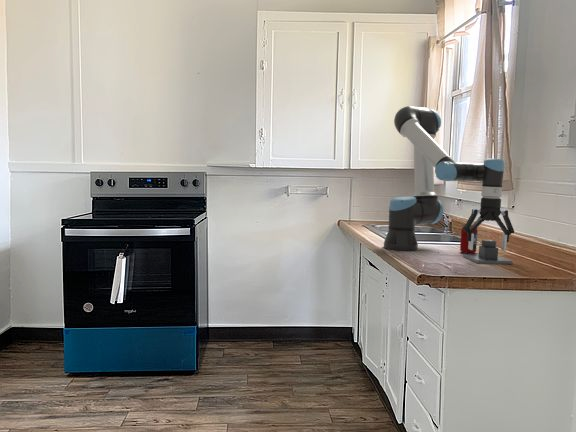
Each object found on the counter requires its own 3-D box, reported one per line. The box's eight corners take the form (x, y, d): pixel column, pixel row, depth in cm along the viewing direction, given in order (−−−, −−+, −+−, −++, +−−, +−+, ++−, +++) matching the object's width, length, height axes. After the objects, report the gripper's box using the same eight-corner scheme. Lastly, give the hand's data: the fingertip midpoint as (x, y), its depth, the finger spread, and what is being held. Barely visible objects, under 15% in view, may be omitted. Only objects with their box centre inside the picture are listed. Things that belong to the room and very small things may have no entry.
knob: (478, 256, 205) (479, 238, 204) (491, 256, 205) (492, 239, 205) (484, 258, 200) (485, 240, 199) (497, 259, 200) (498, 241, 199)
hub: (463, 257, 210) (463, 245, 209) (495, 257, 210) (496, 245, 210) (477, 263, 196) (478, 250, 195) (512, 264, 196) (513, 251, 196)
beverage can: (476, 254, 218) (478, 226, 217) (459, 253, 220) (461, 225, 219) (475, 252, 224) (477, 225, 223) (459, 250, 226) (461, 224, 225)
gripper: (464, 197, 196) (460, 250, 199) (526, 199, 198) (521, 252, 200) (457, 195, 204) (453, 247, 206) (516, 197, 205) (512, 249, 207)
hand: (486, 250), depth 203 cm, fingers open, 13 cm apart
